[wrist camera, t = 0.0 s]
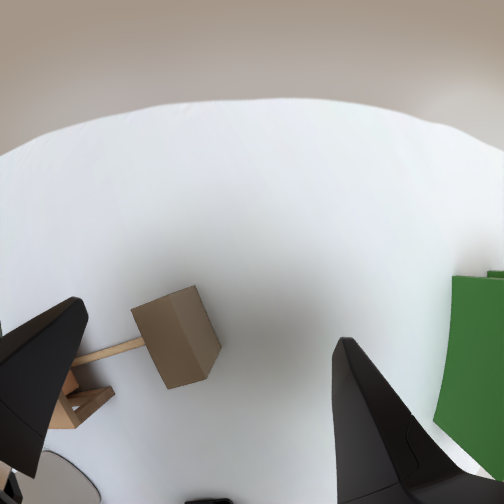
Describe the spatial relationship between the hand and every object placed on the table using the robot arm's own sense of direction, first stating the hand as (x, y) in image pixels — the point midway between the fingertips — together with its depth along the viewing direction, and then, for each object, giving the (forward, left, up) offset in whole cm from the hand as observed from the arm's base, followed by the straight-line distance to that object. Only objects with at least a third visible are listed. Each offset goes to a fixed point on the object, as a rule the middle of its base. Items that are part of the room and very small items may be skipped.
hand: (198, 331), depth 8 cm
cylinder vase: (-20, +39, -15) cm, 47 cm away
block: (-1, +16, -15) cm, 22 cm away
